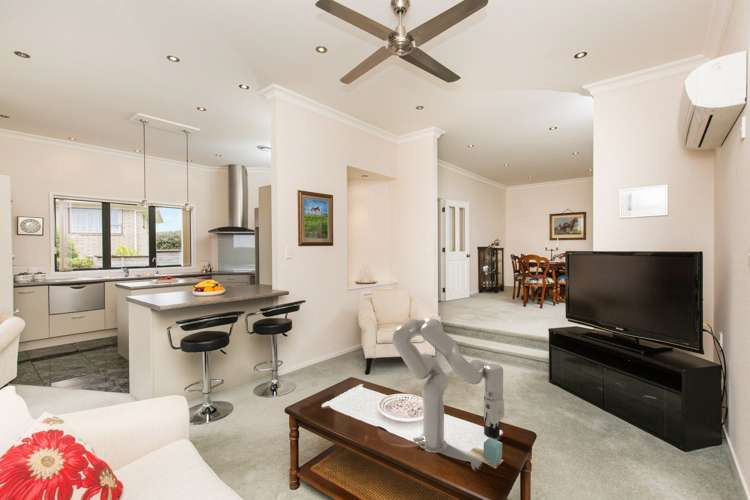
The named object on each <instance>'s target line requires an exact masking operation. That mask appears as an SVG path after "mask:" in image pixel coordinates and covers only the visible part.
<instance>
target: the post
mask: <svg viewBox="0 0 750 500" xmlns="http://www.w3.org/2000/svg"><path fill="white" fill-rule="evenodd" d="M501 459H502V458H501ZM501 459H500V460H499V461H498V462H497V463H494V462H492V461H490V460H488V459H486V458H485V461H487V462H489V463H491V464H493V465H495V466H496V465H497V464H498V463H499V462H500V461H501Z"/></svg>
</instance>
